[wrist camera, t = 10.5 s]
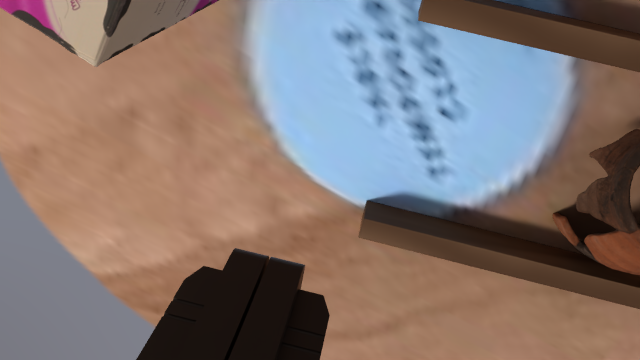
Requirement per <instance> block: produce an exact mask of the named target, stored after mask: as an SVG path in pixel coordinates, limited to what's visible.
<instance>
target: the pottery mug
mask: <svg viewBox="0 0 640 360" xmlns="http://www.w3.org/2000/svg"><path fill="white" fill-rule="evenodd" d="M589 155H590V157H593V158H595V159H596V160H597V161H598V163H599V164H600V165H601V166H602V167H603V168H604V170H605V171H606V172H607V174H608V177H605V178H601V179H597V180H596V181H595V182H593V183H592V184H591V185H590V186H589V187H588V188H587V190H586V191H584V192H582V193H580V194H579V195H578V197H577V204H576V208H577V210H578V211H579V212H584V213H590V214H591V215H592V216H593V217H595V218H597V219H599V220H601V221H604V222H605V223H607V224H609V225H611V226H612V227H614V228H616V230H614V231H612V232H609V233H604V234H590V235H588V236H587V237H586V238H585V240H584V242H583V241H581V240H579V239H578V237H577V236H576V234H575V233H574V231H573V229H572V227H571V225H570V223H569V221H568V219H567V217H566V216H561V215H560V214H559V213H553V219H554V221H555V224H556V225H557V227H558V229H559V230H560V231H561V233H562V234H563V235H564V236H565V237H566V238H567V239H568V240H569V242H571V243H572V244H573V245H574V247H575V248H576V249H577V250H579V251H580V252H582V253H583V254H585V255H586V256H587V257H589V258H592V259H593V260H595V261H597V262H599V263H601V264H603V265H605V266H607V267H609V268H612V269H614V270H619V271H622V272H626V273H630V274H635V275H640V227H639V226H638V224H637V222H636V220H635V218H634V215H633V213H632V210H631V205H630V186H631V182H632V179H633V175H634V173H635V171H636V170H637V169H638V167H639V166H640V129H635V130H633V131H631V132H629V133H627V134H626V135H624V136H623V137H622V138H620V139H619V140H617V141H616V142H614V143H612V144H610V145H607V146H606V147H603V148H599V149H597V150H595V151H593V152H591V153H590V154H589Z"/></svg>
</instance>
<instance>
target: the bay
mask: <svg viewBox="0 0 640 360" xmlns="http://www.w3.org/2000/svg"><path fill="white" fill-rule="evenodd" d="M418 21H423V22H427V23H431V24H436V25H440V26H444V27H448V28H453V29H457V30H461V31H465V32H470V33H474V34H478V35H483V36H487V37H491V38H495V39H500V40H504V41H508V42H512V43H517V44H521V45H525V46H530V47H534V48H538V49H542V50H547V51H551V52H555V53H559V54H564V55H568V56H572V57H577V58H581V59H585V60H589V61H594V62H598V63H602V64H606V65H611V66H615V67H619V68H624V69H628V70H632V71H636V72H640V34H638V33H633V32H629V31H625V30H620V29H616V28H612V27H607V26H603V25H599V24H594V23H590V22H586V21H581V20H577V19H573V18H568V17H564V16H560V15H555V14H551V13H547V12H542V11H538V10H534V9H529V8H525V7H521V6H516V5H512V4H508V3H503V2H499V1H495V0H422V1H421V5H420V9H419V17H418ZM359 238H363V239H367V240H370V241H374V242H378V243H382V244H386V245H390V246H394V247H398V248H402V249H406V250H410V251H414V252H418V253H421V254H425V255H429V256H433V257H437V258H441V259H445V260H449V261H453V262H457V263H461V264H465V265H469V266H473V267H476V268H480V269H484V270H488V271H492V272H496V273H500V274H504V275H508V276H512V277H516V278H520V279H524V280H528V281H531V282H535V283H539V284H543V285H547V286H551V287H555V288H559V289H563V290H567V291H571V292H575V293H579V294H582V295H586V296H590V297H594V298H598V299H602V300H606V301H610V302H614V303H618V304H622V305H626V306H630V307H634V308H637V309H640V275H635V274H630V273H626V272H622V271H619V270H614V269H612V268H609V267H607V266H605V265H603V264H601V263H599V262H597V261H595V260H593V259H592V258H589V257H587V256H586V255H582V254H578V253H574V252H570V251H566V250H562V249H558V248H554V247H550V246H546V245H542V244H538V243H534V242H531V241H527V240H523V239H519V238H515V237H511V236H507V235H503V234H499V233H495V232H491V231H487V230H483V229H479V228H475V227H471V226H467V225H463V224H459V223H455V222H451V221H447V220H443V219H439V218H435V217H431V216H427V215H423V214H419V213H415V212H411V211H407V210H403V209H399V208H395V207H391V206H387V205H383V204H379V203H375V202H371V201H367V202H366V206H365V209H364V213H363V216H362V221H361V226H360V232H359Z"/></svg>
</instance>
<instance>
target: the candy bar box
mask: <svg viewBox="0 0 640 360" xmlns="http://www.w3.org/2000/svg"><path fill="white" fill-rule="evenodd" d="M217 1H219V0H0V8H2V9H3V10H5V11H6V12H8V13H9V14H11V15H13V16H15V17H16V18H18V19H20V20H22V21H24V22H25V23H27V24H29V25H30V26H32V27H34V28H36V29H38V30H39V31H41V32H42V33H44V34H45V35H47V36H48V37H50V38H51V39H53V40H54V41H56V42H58V43H59V44H61V45H62V46H63V47H65V48H66V49H67V50H69V51H70V52H72V53H74V54H76V55H77V56H79V57H80V58H82V59H84V60H85V61H87V62H88V63H90V64H91V65H93V66H95V67H98V66H99V65H100V64H101V63H103V62H105V61H106V60H109V59H110V58H112V57H114V56H116V55H118V54H119V53H121V52H123V51H125V50H127V49H129V48H131V47H133V46H135V45H137V44H138V43H140V42H142V41H144V40H146V39H148V38H150V37H152V36H154V35H155V34H157V33H159V32H161V31H163V30H165V29H167V28H168V27H170V26H172V25H174V24H176V23H177V22H179V21H181V20H183V19H185V18H187V17H189V16H191V15H192V14H194V13H196V12H198V11H200V10H202V9H204V8H206V7H207V6H209V5H211V4H213V3H215V2H217Z"/></svg>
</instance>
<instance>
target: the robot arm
mask: <svg viewBox="0 0 640 360" xmlns="http://www.w3.org/2000/svg"><path fill="white" fill-rule="evenodd" d="M304 269H305V265H303V264H299V263H295V262H290V261H286V260H282V259H278V258H274V257H271V258H270V260H269V256H265V255H261V254H257V253H253V252H249V251H245V250H241V249H237V248H235V249H234V250H233V252H232V253H231V255H230V257H229V259H228V261H227V263H226V265H225V267H224V269H223V271H222V270H218V269H214V268H210V267H206V266H203V267H202V268H200V269H199V270H197V271H196V272H195V273H193V274H192V275H190V276H189V277H187V278H186V279H185V280H184V281H183V283H182V285H181V286H180V288H179V290H178V291H177V293H176V295H175V296H174V299H173V301H171V303H170V305H169V306H168V308H167V310H166V311H165V314H164V316H163V317H162V318H161V320H160V321H159V323H158V324H157V326H156V328H155V329H154V331H153V333H152V335H151V336H150V338H149V339H148V341H147V343H146V344H145V346H144V348H143V350H142V351H141V353H140V354H139V356H138V358H137V359H136V360H320V356H321V351H322V347H323V342H324V338H325V333H326V329H327V324H328V320H329V312H328V309H327V306H326V302H325V299H324V296H323V295H320V294H316V293H312V292H308V291H304V290H300V289H301V284H302V279H303V274H304Z"/></svg>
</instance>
